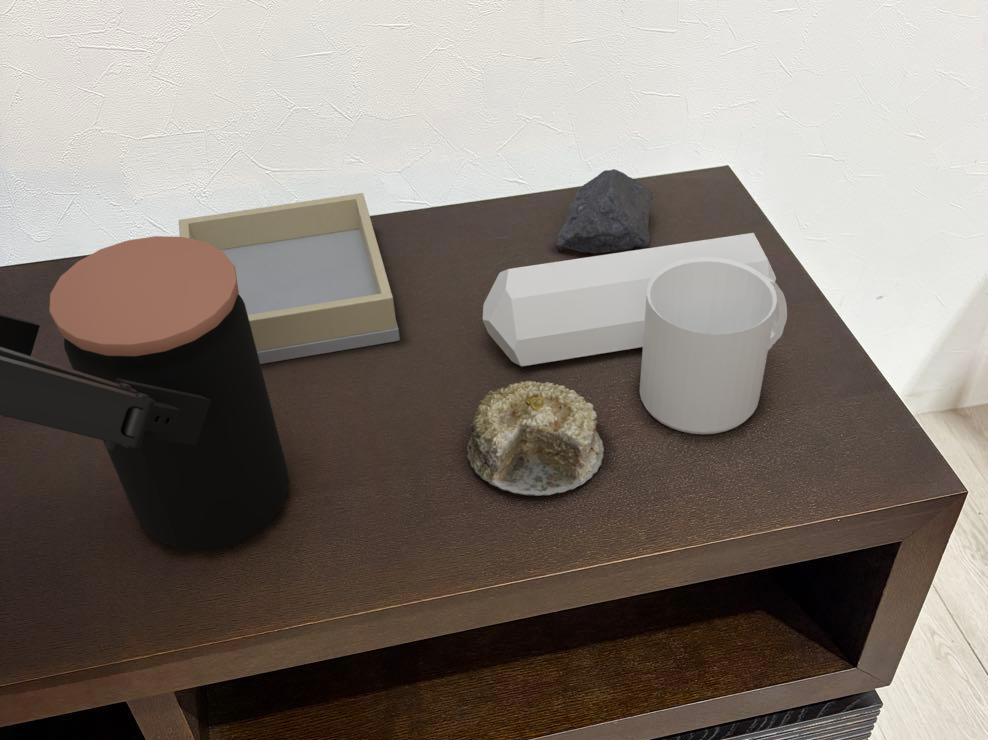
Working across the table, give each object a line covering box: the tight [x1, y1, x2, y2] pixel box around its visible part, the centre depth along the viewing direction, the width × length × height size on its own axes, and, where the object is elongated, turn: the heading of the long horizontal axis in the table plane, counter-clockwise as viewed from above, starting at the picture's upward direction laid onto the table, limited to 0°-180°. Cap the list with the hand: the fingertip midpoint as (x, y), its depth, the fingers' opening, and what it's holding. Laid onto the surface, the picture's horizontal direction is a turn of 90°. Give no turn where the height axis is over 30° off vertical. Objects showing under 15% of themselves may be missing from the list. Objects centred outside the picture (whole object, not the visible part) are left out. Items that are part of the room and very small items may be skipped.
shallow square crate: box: [178, 192, 401, 365], centre depth 91 cm, size 16×16×4 cm
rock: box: [556, 168, 654, 255], centre depth 96 cm, size 9×6×10 cm
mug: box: [638, 257, 788, 435], centre depth 80 cm, size 12×9×9 cm
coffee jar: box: [49, 235, 290, 552], centre depth 70 cm, size 11×11×18 cm
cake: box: [465, 380, 605, 497], centre depth 78 cm, size 10×10×5 cm
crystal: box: [482, 232, 777, 367], centre depth 87 cm, size 7×7×24 cm
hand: (111, 381), depth 64 cm, fingers open, 13 cm apart
